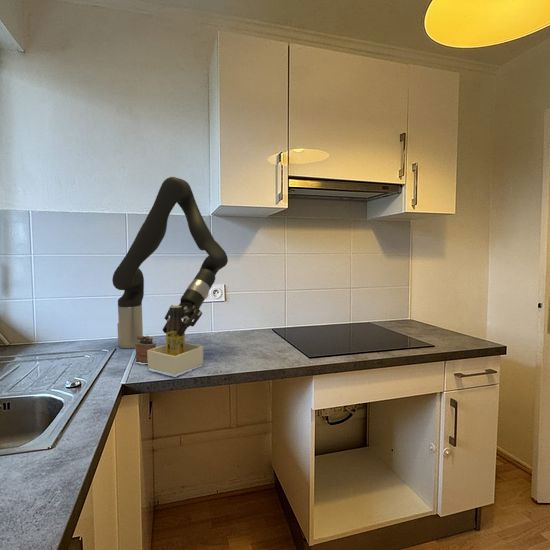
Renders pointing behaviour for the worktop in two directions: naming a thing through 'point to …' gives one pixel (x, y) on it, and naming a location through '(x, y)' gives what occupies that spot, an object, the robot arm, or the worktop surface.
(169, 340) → the sauce bottle
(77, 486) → the worktop surface
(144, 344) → the potted plant
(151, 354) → the crate
